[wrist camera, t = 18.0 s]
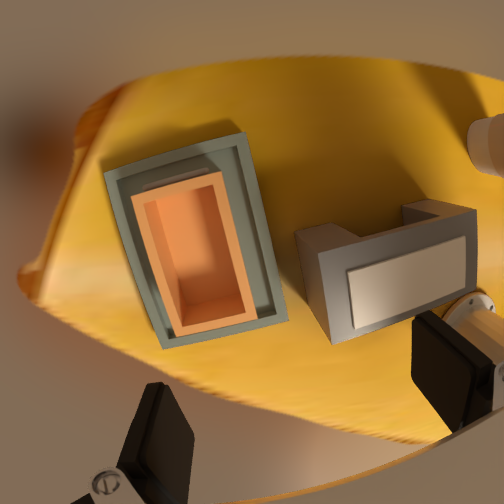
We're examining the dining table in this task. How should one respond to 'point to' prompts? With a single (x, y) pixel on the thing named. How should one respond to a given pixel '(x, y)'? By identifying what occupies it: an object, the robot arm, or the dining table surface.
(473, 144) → the coffee cup
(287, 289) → the dining table surface
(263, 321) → the tray
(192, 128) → the dining table surface
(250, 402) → the dining table surface
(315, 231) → the bay housing
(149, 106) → the dining table surface
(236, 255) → the orange drawer
